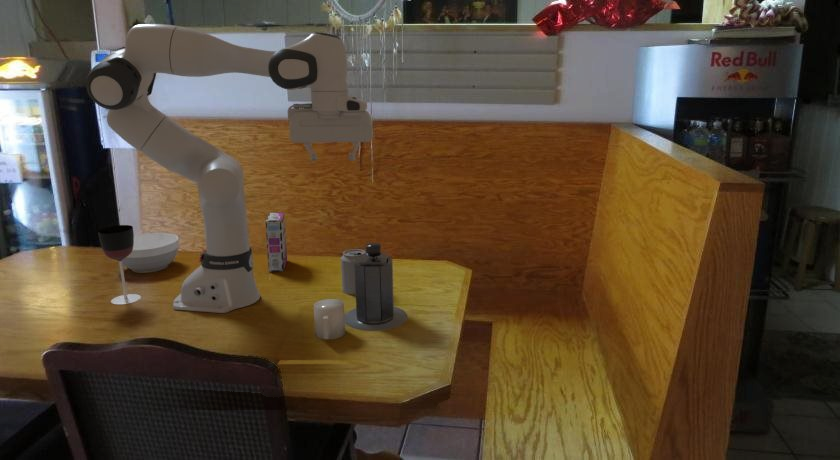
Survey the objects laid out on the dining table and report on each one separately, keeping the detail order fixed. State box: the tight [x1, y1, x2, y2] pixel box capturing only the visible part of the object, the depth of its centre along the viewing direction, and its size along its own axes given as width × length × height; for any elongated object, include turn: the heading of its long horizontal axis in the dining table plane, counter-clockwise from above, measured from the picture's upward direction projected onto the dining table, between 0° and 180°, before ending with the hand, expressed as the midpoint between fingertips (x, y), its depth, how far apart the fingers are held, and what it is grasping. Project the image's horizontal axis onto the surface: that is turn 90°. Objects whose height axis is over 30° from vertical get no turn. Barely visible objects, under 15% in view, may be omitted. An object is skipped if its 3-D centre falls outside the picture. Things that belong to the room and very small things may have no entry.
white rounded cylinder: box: [313, 298, 346, 340], centre depth 144 cm, size 7×9×8 cm
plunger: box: [365, 242, 382, 266], centre depth 151 cm, size 6×6×13 cm
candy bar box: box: [265, 212, 288, 273], centre depth 193 cm, size 11×5×16 cm, turn 6°
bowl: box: [122, 232, 180, 274], centre depth 194 cm, size 19×19×9 cm
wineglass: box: [97, 224, 142, 305], centre depth 167 cm, size 8×9×20 cm
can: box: [340, 248, 366, 296], centre depth 171 cm, size 8×8×12 cm
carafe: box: [355, 253, 395, 325], centre depth 153 cm, size 9×12×16 cm
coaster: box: [344, 306, 408, 332], centre depth 154 cm, size 16×16×1 cm
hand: (333, 160), depth 152 cm, fingers open, 8 cm apart
